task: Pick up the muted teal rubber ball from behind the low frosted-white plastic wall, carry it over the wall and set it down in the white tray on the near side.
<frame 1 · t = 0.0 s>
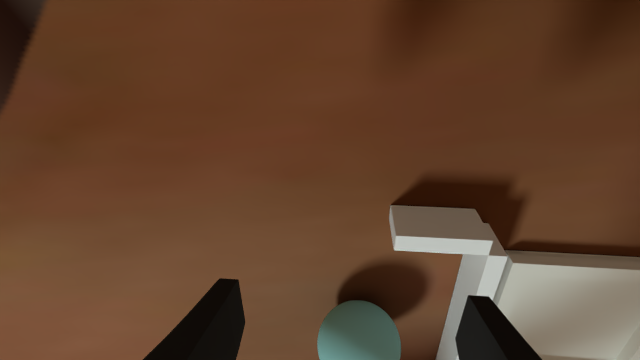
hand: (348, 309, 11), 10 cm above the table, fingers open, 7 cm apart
white tray: (566, 314, 24), on the table
ball: (358, 310, 25), on the table
wall: (456, 307, 24), on the table
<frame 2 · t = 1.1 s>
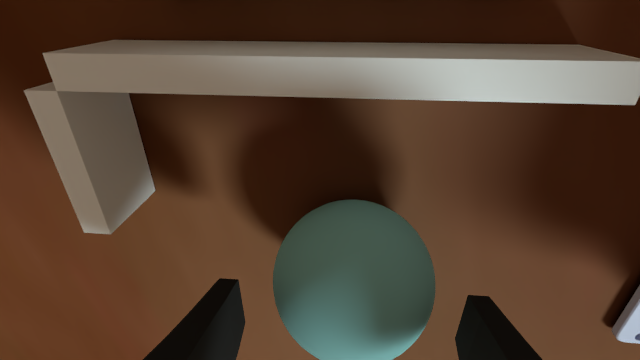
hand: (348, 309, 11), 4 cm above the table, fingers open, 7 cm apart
ball: (353, 230, 14), on the table
wall: (332, 58, 11), on the table
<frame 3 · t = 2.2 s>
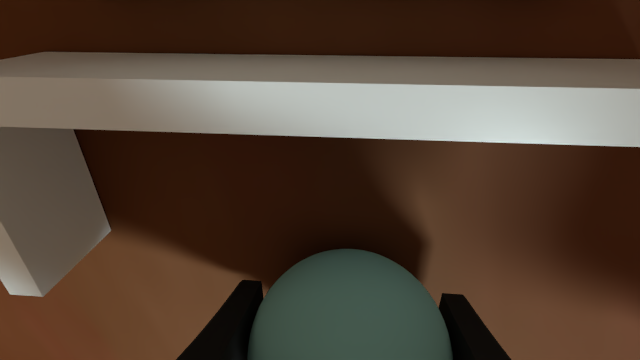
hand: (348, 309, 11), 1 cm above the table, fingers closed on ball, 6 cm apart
ball: (349, 276, 12), on the table, touching gripper
wall: (321, 75, 9), on the table
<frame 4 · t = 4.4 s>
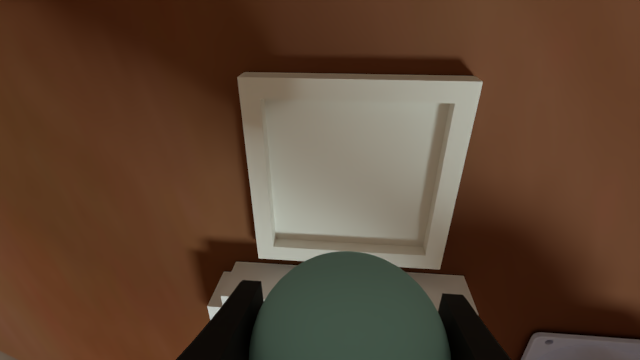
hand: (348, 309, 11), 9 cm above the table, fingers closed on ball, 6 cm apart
white tray: (351, 174, 19), on the table
ball: (347, 278, 12), point 8 cm above the table, touching gripper
wall: (346, 273, 22), on the table
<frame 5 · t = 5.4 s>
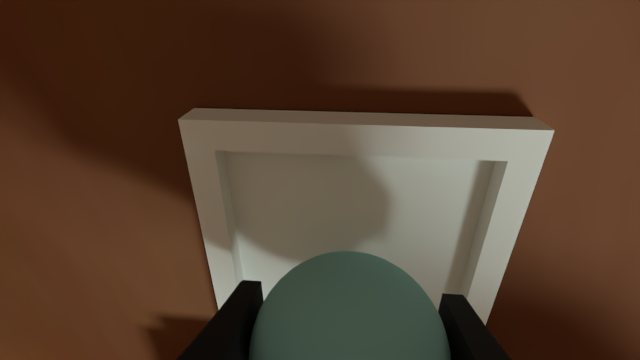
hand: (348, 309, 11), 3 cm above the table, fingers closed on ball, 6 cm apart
white tray: (350, 244, 14), on the table
ball: (347, 278, 12), point 2 cm above the table, touching gripper
when the fingers open (3 cm above the table, at t = 6.5 s): ball stays where it is, resting on white tray.
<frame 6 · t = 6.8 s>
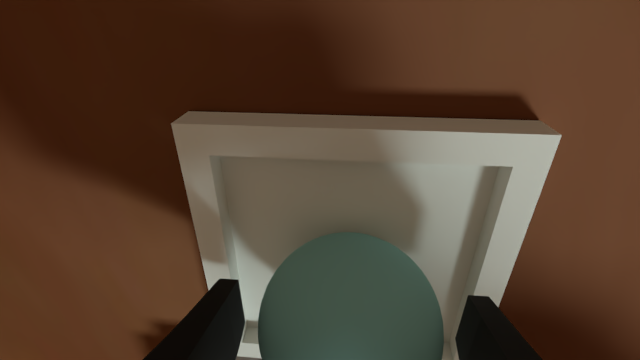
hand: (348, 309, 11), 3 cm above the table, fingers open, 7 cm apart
white tray: (349, 250, 13), on the table
ball: (348, 260, 13), resting on white tray
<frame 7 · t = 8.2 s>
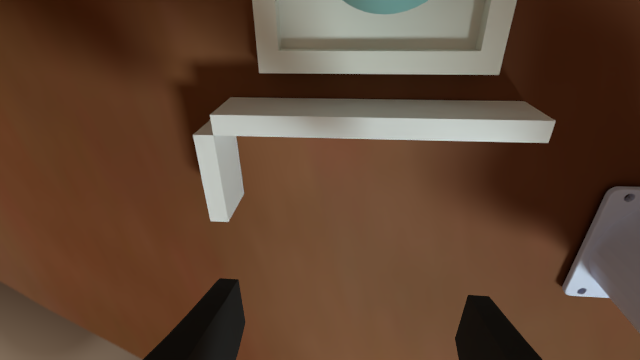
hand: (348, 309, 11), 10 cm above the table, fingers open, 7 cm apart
wall: (371, 108, 18), on the table
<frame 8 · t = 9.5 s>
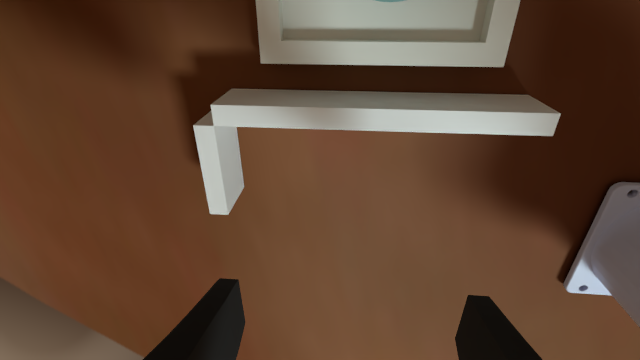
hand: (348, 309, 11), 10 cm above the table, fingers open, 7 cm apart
wall: (374, 101, 17), on the table
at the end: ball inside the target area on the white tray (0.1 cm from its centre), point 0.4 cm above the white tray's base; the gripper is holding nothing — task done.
